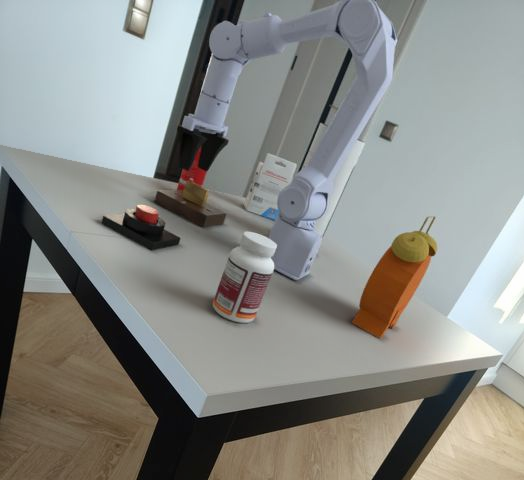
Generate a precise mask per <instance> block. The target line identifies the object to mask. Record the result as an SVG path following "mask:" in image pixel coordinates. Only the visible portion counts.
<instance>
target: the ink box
mask: <svg viewBox="0 0 524 480" xmlns="http://www.w3.org/2000/svg"><path fill="white" fill-rule="evenodd" d="M276 163H282V165H284V166H281V165H279V164H276ZM297 166H298V165H297V163H295V162H292V161H289V160H287V159H285V158H282V157H279V156H277V155H274V154H272V153H269V152H267V153H266V155H265V158H264V161H263V162H262V161H259V162H258V165H257V167H256V171H255V173H254V176H253V179H252V182H251V184H250V187H249V190H248V193H247V196H246V198H245V202H244V203H243V206H244V209H245V210H246V211H247V212H249V213H252V214H256V215H258V216H261V217H265V218H267V219H270V220H273V221H275V220H276V217H277V215H278V212H279V211H278V207H277V200H278V196H279V194H280V192H281V191H282V189H283V188H285V187H286V186H288V185H289V184H290V183H291V182H292V180H293V179H294V175H295V171H296V169H297Z"/></svg>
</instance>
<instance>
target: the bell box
mask: <svg viewBox="0 0 524 480" xmlns="http://www.w3.org/2000/svg"><path fill="white" fill-rule="evenodd" d="M135 211H136V208H126V209H125V211H124V213H118V214H106V215H103V216H102V219H101V224H102V225H104V226H106V227H108V228H110V229H112V230H113V231H115V232H117V233H119V234H121V235H123V236H125V237H126V238H129V239H130V240H131V241H134V242H135V243H138V244H139V245H140V246H143V247H145V248H147V249H148V250H150V251H155V250H160V249H165V248H170V247H174V246H178V245H179V244H180V241H181V237H179V236H178V235H176V234H174V233H173V232H170V231H169V230H167V229H166V228H165V227H166V222H165V220H163V218H161V217H160V216H158V218H157V222H156V223H151V222H147V221H144V220H141V219H139V218H137V217H135V216H134V215H135Z"/></svg>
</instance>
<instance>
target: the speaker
mask: <svg viewBox="0 0 524 480" xmlns="http://www.w3.org/2000/svg"><path fill="white" fill-rule="evenodd" d="M328 127H329V125H328V124H326V123H323V122H320V123H319V125H318V128H317V130H316V133H315V135H314V138H313V140H312V142H311V145H310V148H309V150H308V152H307V155H306V157H305V160H304V162H303V164H302V167H301V170H302V169H303V168H305V167H306V166H307V165H308V163H309V161H310V159H311V157H312V156H313V154H314V152H315V150H316V148H317V147H318V145H319V143H320V141H321V139H322V138H323V136H324V134H325V132H326V130H327V129H328ZM365 146H366V142H365V141H364V140H361V139H359V138H358V139H357V141H356V142H355V144H354V146H353V147H352V149H351V151H350V152H349V154H348V156H347V157H346V159H345V161H344V163H343V164H342V166H341V168H340V169H339V171H338V173H337V174H336V176H335V178H334V180H333V191H332V193H331V195H330V197H329V200H328V207H327V210H326V212H325V214H324V215H323V216H322V217H321V218H320V219H318V220H316V221H315V227H314V229H313V230H314V231H315V232H317V233H319V234H320V235H322V237H323V238H324V237H325V234H326V231H327V230H328V227H329V225H330V223H331V222H332V221H331V220H332V219H333V217H334V214H335V211H336V209H337V207H338V205H339V203H340V201H341V198H342V196H343V194H344V192H345V189H346V187H347V185H348V182H349V180H350V179H351V176H352V174H353V172H354V169H355V167H356V165H357V164H358V163H357V162H358V161H359V158H360V156H361V155H362V151H363V149H364V147H365ZM301 170H300V171H301Z"/></svg>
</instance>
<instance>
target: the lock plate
mask: <svg viewBox="0 0 524 480" xmlns="http://www.w3.org/2000/svg"><path fill="white" fill-rule="evenodd" d="M182 194H183V191H182V190H177V189H165V190H163V189H162V190H160V189H158V190H157V191H156V194H155V198H154V200H153V201H154V202H153V203H155V204H157V205H159V206H161V207H162V208H165V209H167V210H168V211H170V212H172V213H174V214H176V215H178V216H180V217H182V218H184V219H186V220H187V221H189V222H192V223H193V224H195V225H198V226H199V227H201V228H208V227H214V226H220V225H224V223H225V219H226V217H227V212H226V211H223V210H221V209H219V208H217V207H216V206H213V205H212V204H210V203H207V202H206V204H205V207H201V206H199V205H197V204H195V203H193V202H191V201H189V200H187V199H185V198H183V197H182Z"/></svg>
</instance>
